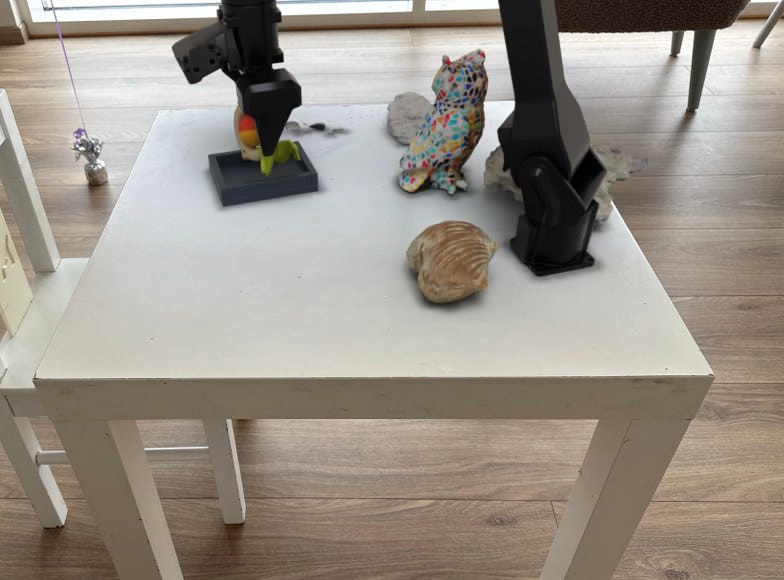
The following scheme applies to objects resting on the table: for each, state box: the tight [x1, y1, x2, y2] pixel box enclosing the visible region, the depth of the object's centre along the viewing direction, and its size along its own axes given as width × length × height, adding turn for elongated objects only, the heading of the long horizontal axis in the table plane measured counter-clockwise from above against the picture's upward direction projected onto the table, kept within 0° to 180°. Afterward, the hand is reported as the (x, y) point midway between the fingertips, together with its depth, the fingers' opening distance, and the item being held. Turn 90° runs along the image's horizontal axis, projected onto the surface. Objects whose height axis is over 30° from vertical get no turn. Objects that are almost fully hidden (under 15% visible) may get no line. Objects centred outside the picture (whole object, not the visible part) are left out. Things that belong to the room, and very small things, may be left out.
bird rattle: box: [233, 104, 300, 176], centre depth 85 cm, size 6×11×9 cm
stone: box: [386, 91, 433, 145], centre depth 98 cm, size 10×5×10 cm
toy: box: [284, 120, 345, 137], centre depth 99 cm, size 1×8×2 cm
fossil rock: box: [482, 141, 649, 227], centre depth 82 cm, size 20×6×15 cm
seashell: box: [405, 219, 499, 304], centre depth 71 cm, size 9×7×8 cm
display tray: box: [207, 140, 319, 207], centre depth 89 cm, size 12×9×2 cm
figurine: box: [397, 48, 489, 195], centre depth 83 cm, size 9×9×15 cm
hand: (260, 140), depth 87 cm, fingers closed on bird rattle, 8 cm apart
